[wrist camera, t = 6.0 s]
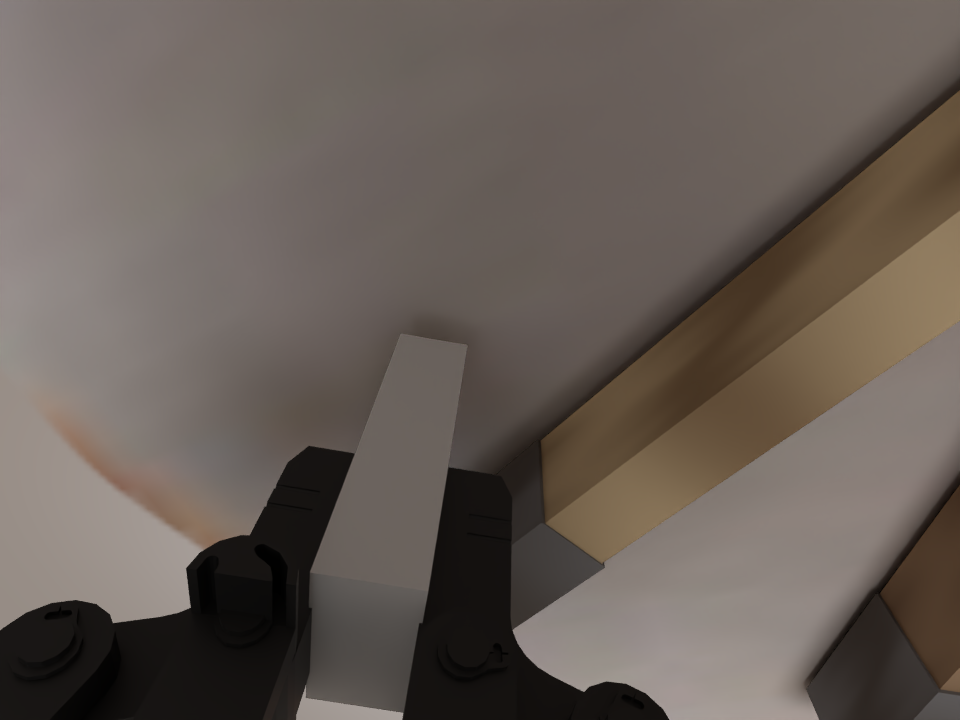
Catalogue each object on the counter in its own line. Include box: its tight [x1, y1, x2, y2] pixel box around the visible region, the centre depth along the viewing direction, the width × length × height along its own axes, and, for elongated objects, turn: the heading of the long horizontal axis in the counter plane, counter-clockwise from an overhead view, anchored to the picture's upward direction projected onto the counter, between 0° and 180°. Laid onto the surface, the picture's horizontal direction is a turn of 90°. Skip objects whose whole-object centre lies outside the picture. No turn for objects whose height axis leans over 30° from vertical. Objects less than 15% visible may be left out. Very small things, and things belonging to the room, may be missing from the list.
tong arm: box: [496, 90, 960, 630], centre depth 12 cm, size 22×2×4 cm, turn 139°
